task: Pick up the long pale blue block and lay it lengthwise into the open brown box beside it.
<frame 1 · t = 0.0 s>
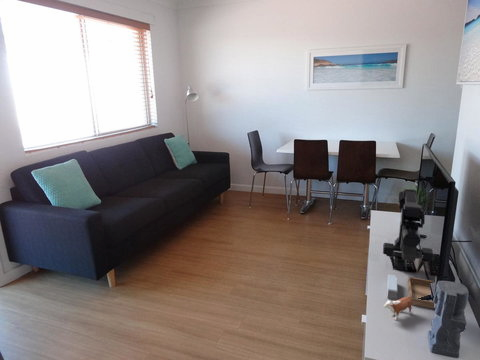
hand: (405, 269, 147), 15 cm above the tv stand, tool pointing down, fingers open, 9 cm apart
bull figurine: (397, 316, 142), on the tv stand
long pale blue block: (391, 290, 159), on the tv stand
open brown box: (422, 295, 154), on the tv stand
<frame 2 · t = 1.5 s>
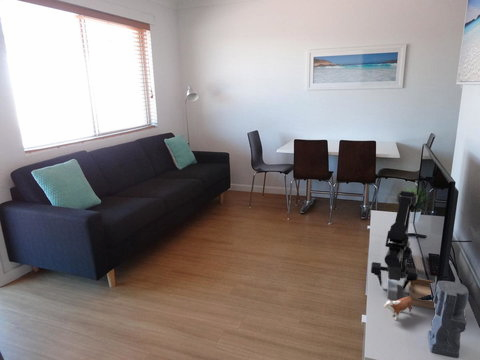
hand: (392, 287, 158), 1 cm above the tv stand, tool pointing down, fingers open, 9 cm apart
nothing on the tv stand moved.
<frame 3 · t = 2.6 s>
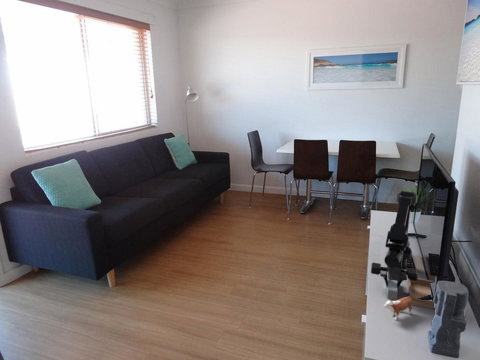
hand: (391, 287, 158), 1 cm above the tv stand, tool pointing down, fingers closed on long pale blue block, 4 cm apart
long pale blue block: (391, 289, 159), on the tv stand, touching gripper
everything else where it was.
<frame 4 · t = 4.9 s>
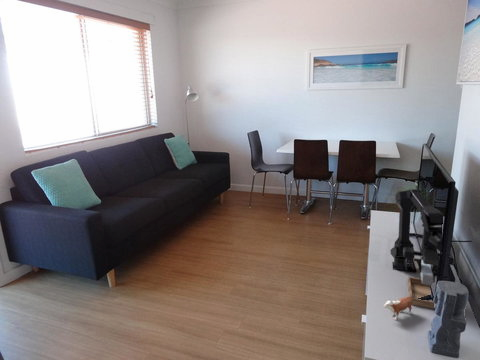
hand: (425, 273, 151), 11 cm above the tv stand, tool pointing down, fingers closed on long pale blue block, 4 cm apart
long pale blue block: (425, 275, 151), point 10 cm above the tv stand, touching gripper
everything else where it was.
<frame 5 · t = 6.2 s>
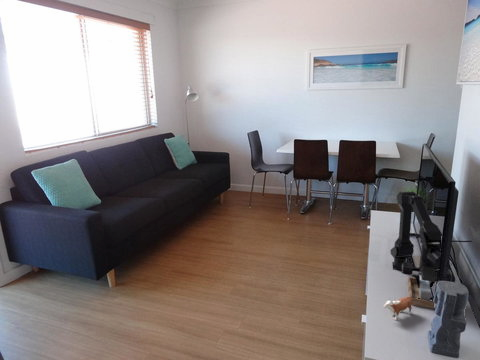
hand: (423, 288, 153), 3 cm above the tv stand, tool pointing down, fingers closed on long pale blue block, 4 cm apart
long pale blue block: (423, 290, 153), point 2 cm above the tv stand, touching gripper
everything else where it was.
when the fingers open (3 cm above the tv stand, at t = 7.0 s): long pale blue block drops 1 cm, resting on open brown box.
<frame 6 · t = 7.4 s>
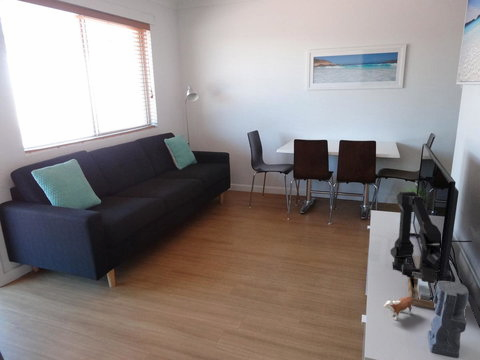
hand: (423, 289, 153), 3 cm above the tv stand, tool pointing down, fingers open, 8 cm apart
long pale blue block: (423, 294, 154), resting on open brown box
everything else where it was.
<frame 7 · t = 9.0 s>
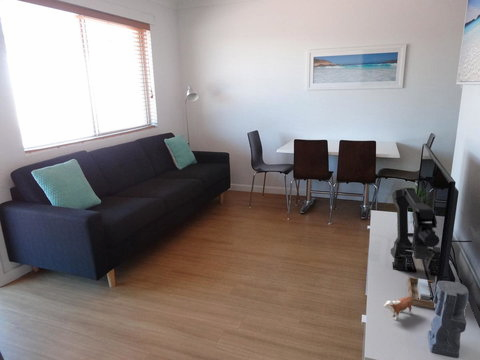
hand: (416, 267, 156), 11 cm above the tv stand, tool pointing down, fingers open, 9 cm apart
nothing on the tv stand moved.
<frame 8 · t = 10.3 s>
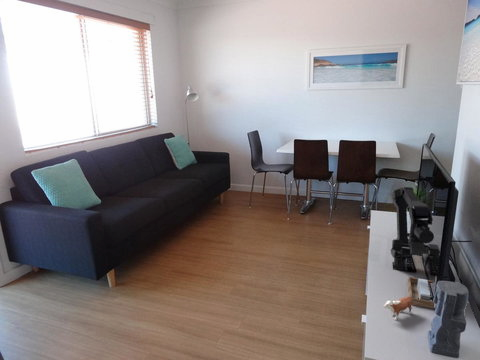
hand: (413, 264, 158), 11 cm above the tv stand, tool pointing down, fingers open, 9 cm apart
nothing on the tv stand moved.
at the end: long pale blue block 0.0 cm off-centre on the open brown box, point 0.4 cm above the open brown box's base; long pale blue block tilted 0°; the gripper is holding nothing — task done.
